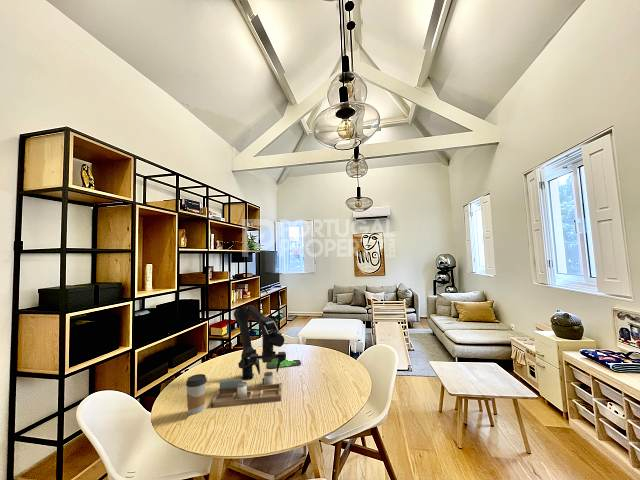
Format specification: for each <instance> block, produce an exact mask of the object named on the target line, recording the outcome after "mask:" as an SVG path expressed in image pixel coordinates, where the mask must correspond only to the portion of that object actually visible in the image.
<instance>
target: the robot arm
mask: <svg viewBox="0 0 640 480" xmlns="http://www.w3.org/2000/svg"><path fill="white" fill-rule="evenodd" d="M233 316H234V317H233V318H234V320H235V322H236V323H237V324H238V327H239V332H240V333H239V334H240V338H241V339H240V340H241V344H242V351H241V357H240V358H241V359H240V360H239V362H238V368H239V369H241V370H242V371H241V372H242V374H241V378H240V379H242V381H244V380H252V379H254V376H255V374H254V372H253V371H254V370H253V369H254V367H253V366H255V368H256V370H257V374H258V375H259V376H260V374H261V368H260V367H261V366H260V365H261V364H260V360H261V362H262V363H263V364H266V363H267V362H272V359H275V358H278V362H277V368H276V373H278V372H279V369H280V368H279V366H280V363H281V362H283V360H286V353H287V352H285V351H278V353H276V351H274V347H278V348H280V347H282V346H283V345H284V343H285V337H284V336H283V335H282V332H279V327H278V326H277V324H276V322H275V320H274V318H271V317H270V316H265V315H264V314H263V313H261V312H260V311H259V310H258V309H257V308H255V306H254V305H252V304H250V305H246V306H244V307H241V308H236V309H235V311H234V312H233ZM250 317H251V319H253V320H254V321H255V322H256V323H257V324H258V328H259V329H260V330H261V331H260V333H259V334H260V336H261V335H262V338H261V339H262V341H261V342H262V344H261V345H262V351H261V355H259V353H257V350H256V348H255V349H254V347H253V346H252V341H251V336H250V335H251V334H250V329H249V324H248V322H249V319H250Z"/></svg>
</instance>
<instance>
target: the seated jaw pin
mask: <svg viewBox="0 0 640 480" xmlns="http://www.w3.org/2000/svg"><path fill="white" fill-rule="evenodd" d="M247 388H248V382H247V381H242V382H240V383H238V384H237V399H245V398H247Z"/></svg>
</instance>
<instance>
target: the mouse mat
mask: <svg viewBox="0 0 640 480" xmlns="http://www.w3.org/2000/svg"><path fill="white" fill-rule="evenodd" d="M277 362H278V358H275V359H272V362H266V369H268V370H272V369H277ZM301 365H302V361H301V360H293V361H288V360H283V362H281V363H280V366H279V369H280V368H290V367H297V366H301Z"/></svg>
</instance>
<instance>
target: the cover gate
mask: <svg viewBox="0 0 640 480" xmlns="http://www.w3.org/2000/svg"><path fill="white" fill-rule="evenodd" d="M240 382H243V380H242V379H241V378H240V379H239V378H238V379H229V380H220V381H219V388H221V389H224V388H235V387H237V384H238V383H240Z"/></svg>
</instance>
